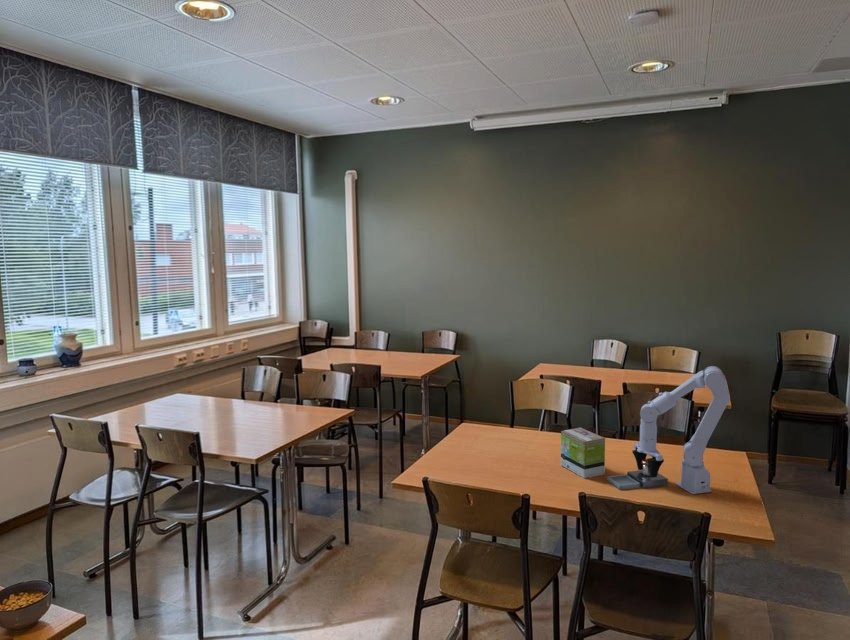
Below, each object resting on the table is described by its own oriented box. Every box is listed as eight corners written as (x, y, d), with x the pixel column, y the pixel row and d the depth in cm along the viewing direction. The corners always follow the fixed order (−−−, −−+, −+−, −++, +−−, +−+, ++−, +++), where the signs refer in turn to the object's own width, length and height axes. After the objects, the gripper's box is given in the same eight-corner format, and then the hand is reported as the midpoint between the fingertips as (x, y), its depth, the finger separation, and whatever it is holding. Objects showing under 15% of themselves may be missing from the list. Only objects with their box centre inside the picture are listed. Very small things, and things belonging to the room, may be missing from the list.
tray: (640, 487, 210) (640, 483, 210) (620, 489, 208) (620, 485, 208) (626, 478, 218) (626, 474, 218) (606, 480, 217) (606, 476, 216)
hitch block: (667, 485, 211) (667, 478, 211) (643, 488, 209) (643, 481, 209) (650, 475, 221) (651, 468, 221) (627, 478, 219) (627, 471, 218)
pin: (655, 483, 213) (655, 462, 212) (645, 484, 212) (646, 463, 212) (648, 479, 217) (649, 458, 216) (639, 480, 216) (639, 459, 215)
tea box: (559, 466, 232) (560, 429, 231) (580, 462, 236) (580, 426, 235) (584, 479, 219) (584, 440, 217) (605, 474, 222) (606, 437, 221)
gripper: (627, 432, 219) (626, 467, 221) (650, 444, 205) (649, 481, 207) (643, 430, 221) (642, 465, 222) (668, 442, 207) (667, 479, 208)
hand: (647, 473), depth 214 cm, fingers open, 7 cm apart
